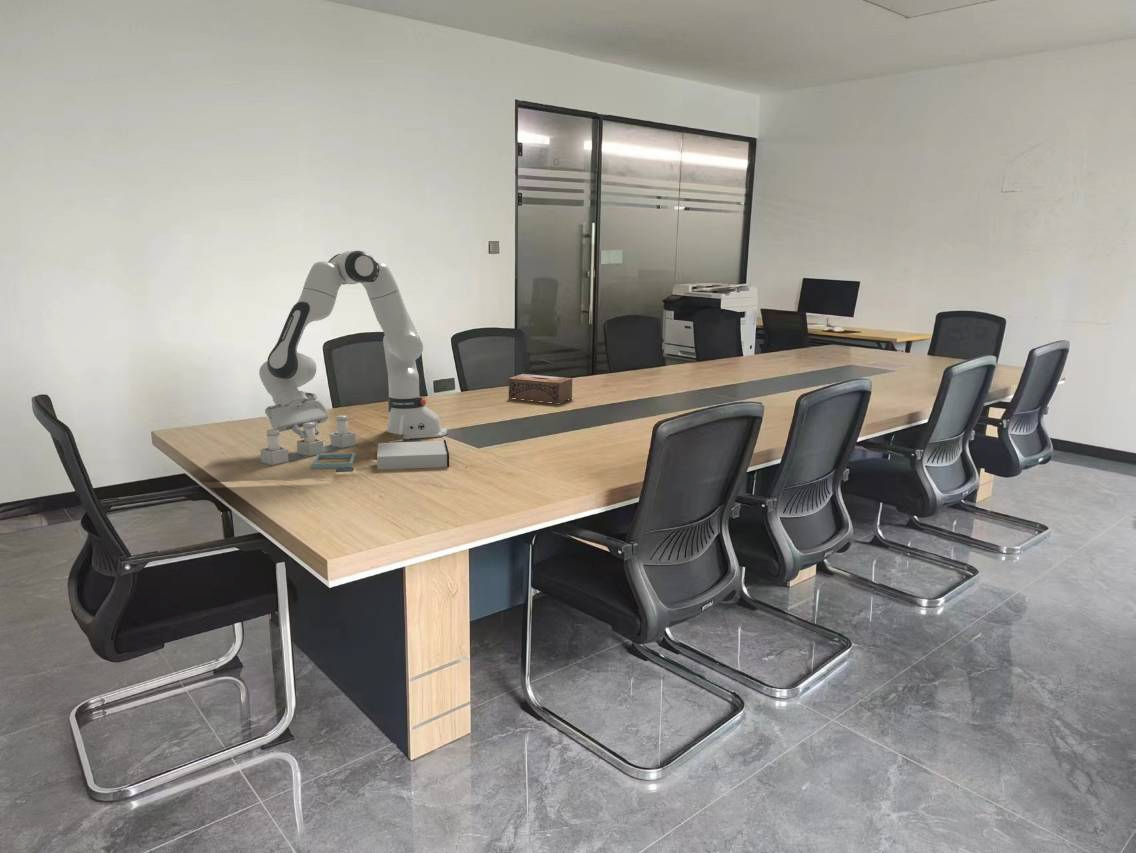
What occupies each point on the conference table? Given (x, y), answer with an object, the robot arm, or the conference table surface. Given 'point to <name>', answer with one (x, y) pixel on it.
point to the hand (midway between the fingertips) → (310, 435)
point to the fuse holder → (307, 449)
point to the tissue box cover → (540, 388)
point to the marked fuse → (309, 432)
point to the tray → (335, 465)
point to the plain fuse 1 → (273, 440)
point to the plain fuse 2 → (342, 425)
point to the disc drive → (412, 455)
